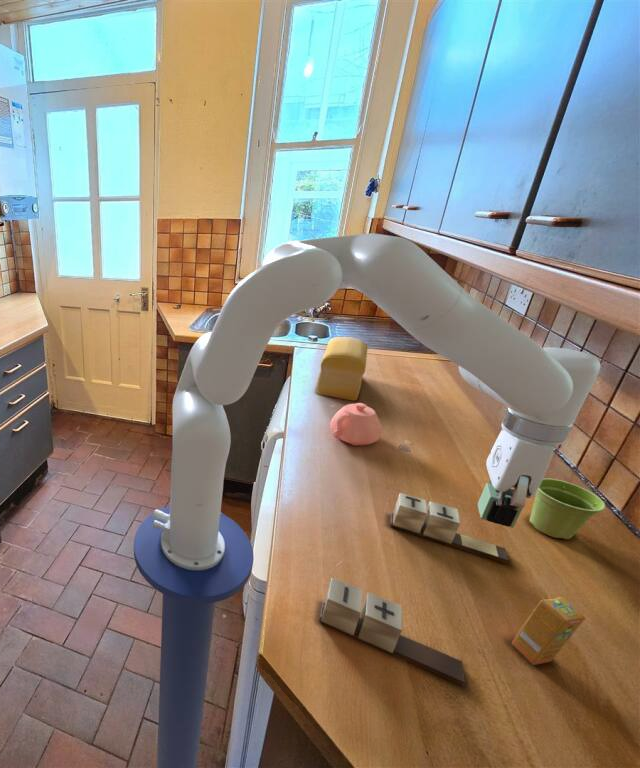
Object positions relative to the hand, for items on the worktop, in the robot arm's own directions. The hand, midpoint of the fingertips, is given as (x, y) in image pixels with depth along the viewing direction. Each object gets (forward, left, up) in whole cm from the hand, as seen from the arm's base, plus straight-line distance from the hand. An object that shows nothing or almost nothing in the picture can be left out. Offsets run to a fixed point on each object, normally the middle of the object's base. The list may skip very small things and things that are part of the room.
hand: (495, 512), depth 72 cm
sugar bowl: (-24, +31, -9) cm, 40 cm away
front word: (-14, -29, -9) cm, 34 cm away
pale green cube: (0, 0, -1) cm, 1 cm away
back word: (-5, 0, -9) cm, 10 cm away
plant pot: (+13, +14, -9) cm, 21 cm away
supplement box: (+4, -20, -9) cm, 22 cm away
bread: (-31, +68, -9) cm, 76 cm away
